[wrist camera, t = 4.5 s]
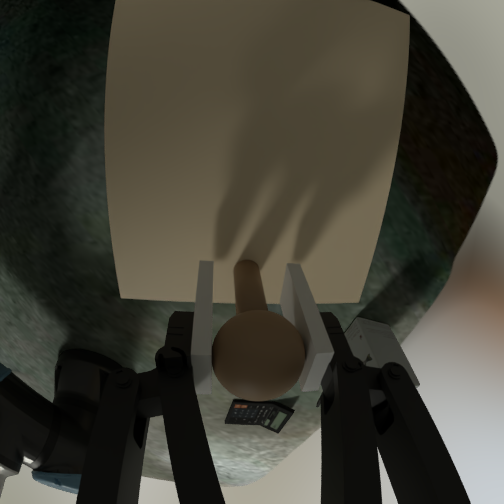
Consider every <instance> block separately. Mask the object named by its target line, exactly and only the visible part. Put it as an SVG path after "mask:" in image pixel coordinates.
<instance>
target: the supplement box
mask: <svg viewBox="0 0 504 504" xmlns="http://www.w3.org/2000/svg"><path fill="white" fill-rule="evenodd" d="M344 334H345V337H346V339H347V341H348V344H349V346H350V349H351V351H352V353H353V355H354V356H355V357H357V358H359V359H360V360H361V361H362V362H363V364H364V365H366V366H369V367H376V368H382V367H383V365H384V364H385V363H388V362H396V363H399V364H400V365H402V366H403V367H404V368H405V369H406V371H407V372H408V374H409V376H410V378H411V380H412V382H413V383H414V385H415V387H416V388H417V387H418V386H419V385H420V383H419V381H418V379H417V377H416V375H415V374H414V371H413V369H412V367H411V365H410V363H409V361H408V360H407V358H406V356H405V354H404V352H403V350H402V348H401V346H400V344H399V343H398V341H397V339H396V337H395V335H394V333H393V332H392V330H391V328H390V326H389V325H388V324H384V323H380V322H376V321H372V320H368V319H364V318H361V317H356V319H355V320H354V321H353V323H352V324H351V326H350V327H349V328H348V329H347V331H346V332H345V333H344Z"/></svg>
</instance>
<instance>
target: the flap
mask: <svg viewBox="0 0 504 504" xmlns="http://www.w3.org/2000/svg"><path fill="white" fill-rule="evenodd" d="M409 30H410V15H407V14H405V13H403V12H400V11H398V10H395V9H393V8H390V7H387V6H385V5H382V4H379V3H376V2H374V1H371V0H116V2H115V7H114V13H113V20H112V27H111V34H110V42H109V51H108V62H107V74H106V91H105V169H106V187H107V200H108V212H109V222H110V231H111V239H112V247H113V254H114V261H115V267H116V273H117V279H118V285H119V291H120V296H121V298H127V299H142V300H160V301H181V302H195V299H196V289H197V280H198V271H199V262H200V260H202V261H214V267H213V303H235V304H236V316H234V317H233V318H231V319H230V320H228V321H227V322H226V323H225V324H224V325H223V326H222V327H221V329H220V330H219V331H218V333H217V335H216V337H215V339H214V342H213V345H212V366H213V370H214V373H215V375H216V377H217V378H218V380H219V382H220V383H221V384H222V385H223V387H225V388H226V389H227V390H228V391H229V392H230V393H232V394H234V395H235V396H237V397H239V398H242V399H245V400H249V401H267V400H271V399H274V398H277V397H279V396H281V395H283V394H284V393H286V392H287V391H289V390H290V389H291V388H292V387H293V386H294V385H295V383H296V382H297V381H298V379H299V377H300V376H301V373H302V371H303V368H304V364H305V348H304V343H303V340H302V338H301V335H300V334H299V332H298V330H297V329H296V327H295V326H294V325H293V324H292V323H291V322H290V321H288V320H287V319H286V318H284V317H283V316H281V315H279V314H277V313H274V312H270V311H268V308H267V304H280V297H281V292H282V287H283V281H284V276H285V270H286V265H287V263H295V264H300V265H301V268H302V270H303V273H304V275H305V278H306V280H307V283H308V285H309V288H310V290H311V293H312V295H313V298H314V300H315V303H359V300H360V297H361V293H362V290H363V287H364V284H365V281H366V278H367V274H368V271H369V268H370V264H371V261H372V257H373V254H374V250H375V247H376V243H377V239H378V236H379V232H380V228H381V224H382V220H383V216H384V212H385V208H386V203H387V199H388V194H389V190H390V185H391V180H392V175H393V170H394V165H395V160H396V154H397V148H398V142H399V136H400V130H401V123H402V115H403V108H404V99H405V90H406V80H407V68H408V54H409Z"/></svg>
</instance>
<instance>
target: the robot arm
mask: <svg viewBox="0 0 504 504" xmlns="http://www.w3.org/2000/svg"><path fill="white" fill-rule="evenodd" d="M213 267H214V261H202V260H200V262H199V271H198V280H197V289H196V299H195V310H194V312H182V311H175V312H174V313H173V314H172V315H171V317H170V318H169V323H168V328H167V335H166V340H165V346H164V347H162V348H160V349H159V350H158V351H157V353H156V355H155V362H156V368H155V369H153V370H151V371H148V372H143V373H138V374H137V373H136V372H135V371H133V370H132V369H129V368H122V367H121V366H120V365H118V364H117V363H115V362H114V361H112V360H110V359H109V358H107V357H104V356H102V355H100V354H97V353H94V352H91V351H86V350H79V349H73V350H67V351H65V352H63V353H62V354H61V355H60V356H59V358H58V361H57V363H56V366H55V386H54V400H53V403H51V402H50V401H49V400H47V399H46V398H44V397H43V396H42V395H40V394H39V393H37V392H36V391H35V390H33V389H32V388H31V387H30V386H28V385H27V384H26V383H24V382H23V381H22V380H21V379H20V378H18V377H17V376H16V375H15V374H14V373H12V372H11V371H12V370H11V369H10V368H7V367H5V366H4V365H3V364H2V363H0V496H1V493H2V489H3V486H4V482H5V479H6V478H7V477H8V476H13V475H17V474H18V473H19V471H20V468H21V465H22V463H23V464H25V465H27V466H28V467H30V468H32V469H33V471H32V476H33V479H34V480H36V481H38V482H40V483H42V484H44V485H47V486H50V487H53V488H56V489H59V490H62V491H66V492H70V493H74V494H78V495H77V501H76V504H138V499H139V490H140V481H141V474H142V466H143V459H144V452H145V446H146V439H147V433H148V427H149V421H150V417H155V416H160V415H163V419H164V425H165V432H166V438H167V444H168V449H169V455H170V460H171V465H172V471H173V475H174V480H175V485H176V489H177V493H178V498H179V502H180V504H225V501H224V498H223V495H222V491H221V488H220V484H219V481H218V478H217V474H216V471H215V467H214V463H213V460H212V456H211V452H210V449H209V445H208V441H207V437H206V433H205V429H204V425H203V421H202V417H201V413H200V408H199V404H198V399H197V395H196V394H212V309H213ZM280 305H281V309H282V313H283V317H284V318H286V319H287V320H288V321H290V322H291V323H292V324H293V325H294V326H295V327H296V329H297V330H298V332H299V334H300V335H301V338H302V340H303V343H304V348H305V364H304V368H303V371H302V373H301V376H300V377H299V382H300V386H301V390H302V392H306V391H318V389H319V386H320V384H321V386H322V389H323V392H322V394H321V396H320V398H319V400H318V402H317V406H316V407H319V405H320V403H321V439H322V440H321V446H322V468H321V469H322V472H321V474H322V475H321V504H382V495H381V481H380V470H379V460H378V451H377V447H378V450H379V453H380V455H381V458H382V460H383V463H384V466H385V468H386V471H387V474H388V477H389V479H390V482H391V485H392V488H393V490H394V493H395V496H396V499H397V501H398V504H471V503H470V500H469V498H468V495H467V493H466V490H465V488H464V486H463V483H462V481H461V479H460V476H459V474H458V472H457V470H456V467H455V465H454V463H453V461H452V459H451V456H450V454H449V452H448V450H447V448H446V446H445V444H444V442H443V440H442V437H441V435H440V434H439V431H438V429H437V427H436V425H435V423H434V421H433V419H432V417H431V415H430V414H429V412H428V410H427V408H426V406H425V404H424V402H423V400H422V398H421V396H420V394H419V393H418V391H417V389H416V387H415V385H414V383H413V382H412V380H411V378H410V376H409V374H408V372H407V371H406V369H405V368H404V367H403V366H402V365H400V364H399V363H396V362H388V363H385V364H384V365H383V367H382V368H376V367H369V366H366V365H364V364H363V362H362V361H361V360H360V359H359V358H357V357H355V356H354V355H353V353H352V351H351V349H350V346H349V344H348V341H347V339H346V337H345V334H344V332H343V330H342V328H341V325H340V323H339V321H338V319H337V318H336V317H335V316H334V315H333V314H332V313H331V312H319V310H318V308H317V305H316V303H315V300H314V298H313V295H312V293H311V290H310V288H309V285H308V283H307V280H306V278H305V275H304V273H303V270H302V268H301V265H300V264H295V263H287V265H286V270H285V276H284V281H283V287H282V292H281V297H280Z"/></svg>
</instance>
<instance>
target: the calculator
mask: <svg viewBox="0 0 504 504" xmlns="http://www.w3.org/2000/svg"><path fill="white" fill-rule="evenodd" d="M294 411H295V410H293V409H291V408H289V407H286V406H284V405H282V404H279V403H277V402H270V401H247V400H233V402H232V404H231V407H230V409H229V412H228V414H227V417H226V419H225V424H241V425H261V426H263V427H265V428H267V429H269V430H271V431H274V432H276V433H279V432H280V431H281V429H282V428H283V427H284V425H285V424H286V423H287V421H288V420H289V419H290V417H291V416H292V415H293V413H294Z"/></svg>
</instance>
